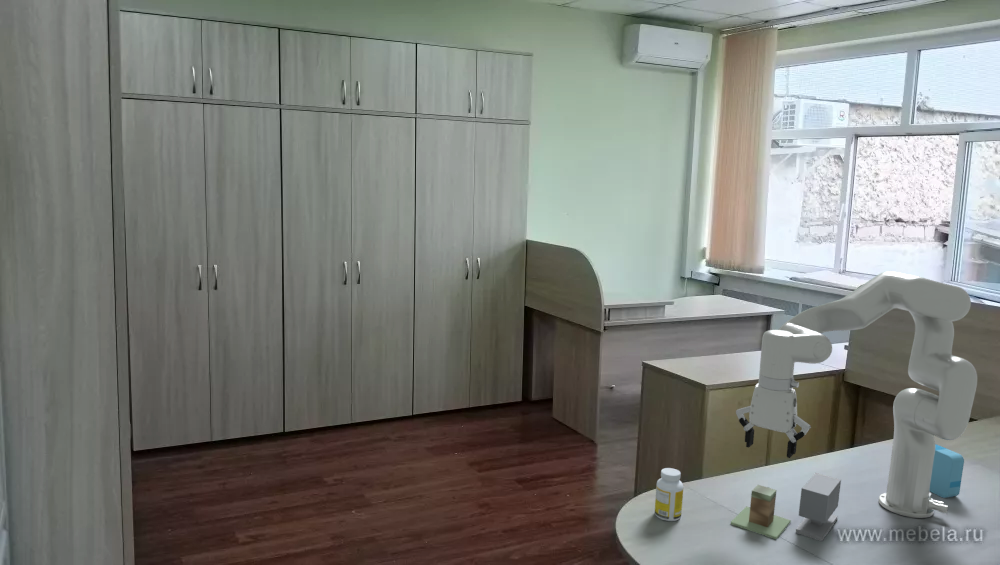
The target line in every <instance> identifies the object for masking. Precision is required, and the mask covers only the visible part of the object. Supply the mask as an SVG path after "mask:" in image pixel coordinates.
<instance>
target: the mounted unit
mask: <svg viewBox="0 0 1000 565" xmlns="http://www.w3.org/2000/svg"><path fill="white" fill-rule="evenodd" d="M841 484H842V479H840V478H837V477H833V476H829V475H825V474H823V473H818V472H815V473H813V475H812V476H811V477H809V479H808V480H807V482H805V483H804V485H803V486H802V487H801V491H800V500H799V510H798V516H799V517H802V518H803V520H802V521H801V522H800V524H798V526H797V527H796V528H795V533H796V534H798V535H801V536H805V537H808V538H811V539H813V540H817V541H820V542H822V541H823V540H824V539H825V538H826V536H827V535H828V533H829V532H830V531H829V530H831V529H832V528H833V526H834V525H835V524H836V522H837V521H838V515H835V514H833V513H835V511H836V509H837V508H838V507H839V500H840V491H841ZM836 520H837V521H836ZM834 523H835V524H834ZM831 527H832V528H831Z"/></svg>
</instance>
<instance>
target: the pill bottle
mask: <svg viewBox="0 0 1000 565" xmlns="http://www.w3.org/2000/svg"><path fill="white" fill-rule="evenodd" d="M681 474H682V473H681V471H680V470H679V469H675V468H671V467H665V468H662V469H661V471H660V477H661V478H659V479H657V481H656V485H655V486H656V488H655V500H654V515H655V516H656V517H657V518H659V520H663V521H667V522H675V521H678V520H680V519H681V517H682V514H683V513H682V510H683V498H684V497H683V496H684V484H683V482H682V481H681V480H680V479H681V477H682V476H681Z"/></svg>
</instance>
